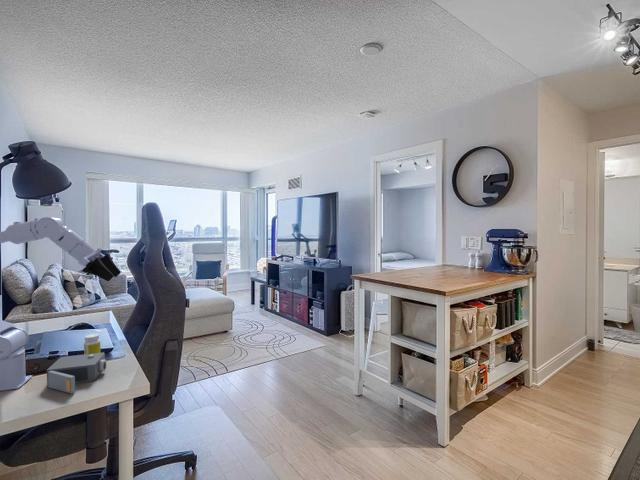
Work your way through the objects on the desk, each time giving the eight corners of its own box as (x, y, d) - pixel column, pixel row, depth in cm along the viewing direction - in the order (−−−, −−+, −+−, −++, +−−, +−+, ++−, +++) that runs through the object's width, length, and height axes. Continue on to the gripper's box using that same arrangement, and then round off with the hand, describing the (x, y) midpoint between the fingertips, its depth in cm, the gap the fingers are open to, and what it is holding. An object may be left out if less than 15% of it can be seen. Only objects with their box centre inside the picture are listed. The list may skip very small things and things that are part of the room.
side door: (46, 388, 95) (45, 372, 94) (52, 385, 96) (51, 370, 96) (69, 394, 91) (68, 378, 91) (75, 391, 92) (74, 376, 92)
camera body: (46, 387, 96) (46, 368, 96) (61, 372, 105) (60, 355, 105) (100, 380, 100) (100, 362, 100) (109, 366, 110) (109, 350, 109)
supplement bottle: (103, 356, 118) (103, 333, 118) (93, 362, 113) (93, 338, 113) (91, 356, 118) (90, 333, 118) (80, 361, 114) (80, 337, 113)
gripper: (78, 239, 94) (117, 270, 98) (96, 236, 108) (130, 264, 112) (58, 257, 93) (99, 288, 97) (79, 252, 107) (114, 279, 111)
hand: (115, 276), depth 104 cm, fingers open, 7 cm apart
